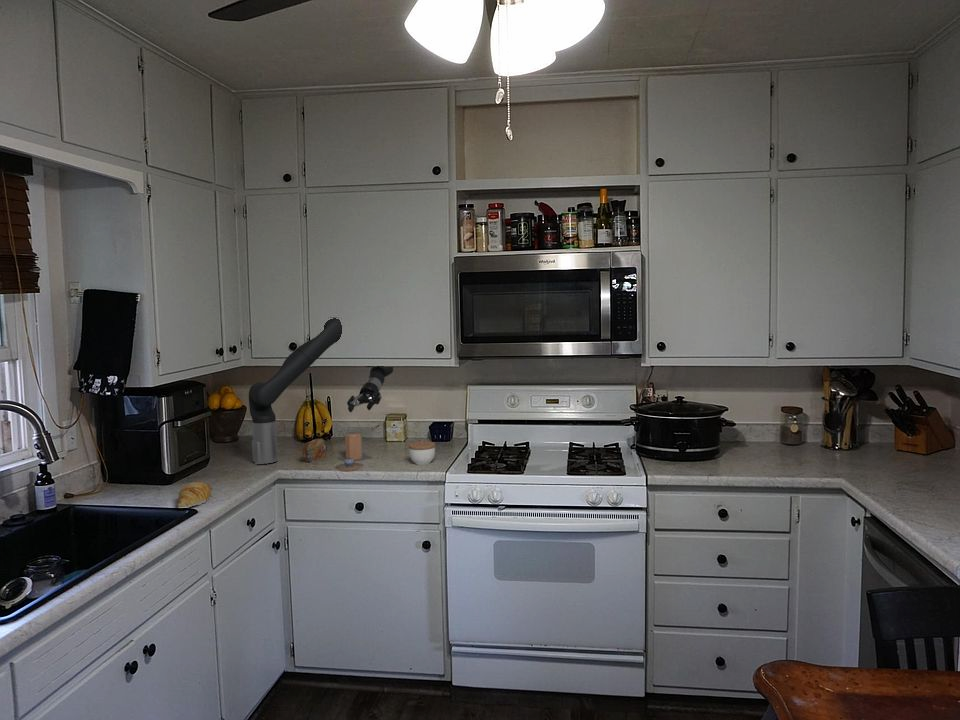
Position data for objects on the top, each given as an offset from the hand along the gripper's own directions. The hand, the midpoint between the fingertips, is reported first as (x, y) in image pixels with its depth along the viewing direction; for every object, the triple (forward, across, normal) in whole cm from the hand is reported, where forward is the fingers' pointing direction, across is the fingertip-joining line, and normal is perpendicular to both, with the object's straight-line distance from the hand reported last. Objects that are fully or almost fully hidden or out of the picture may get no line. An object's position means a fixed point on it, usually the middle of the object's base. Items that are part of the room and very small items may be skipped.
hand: (358, 409), depth 290 cm
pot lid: (+26, +1, +11) cm, 28 cm away
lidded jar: (+16, +27, +19) cm, 37 cm away
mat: (+12, -3, +16) cm, 21 cm away
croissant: (+71, -31, -14) cm, 79 cm away
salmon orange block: (+12, -3, +16) cm, 20 cm away
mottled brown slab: (+16, -19, +13) cm, 28 cm away
